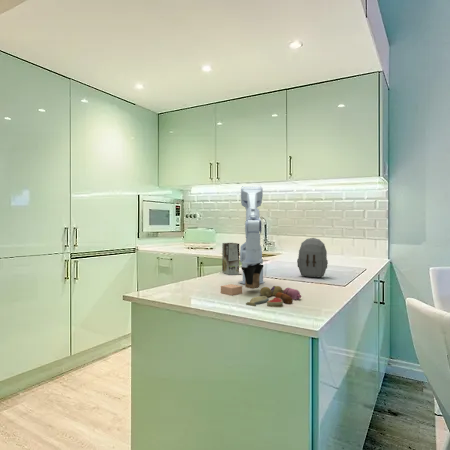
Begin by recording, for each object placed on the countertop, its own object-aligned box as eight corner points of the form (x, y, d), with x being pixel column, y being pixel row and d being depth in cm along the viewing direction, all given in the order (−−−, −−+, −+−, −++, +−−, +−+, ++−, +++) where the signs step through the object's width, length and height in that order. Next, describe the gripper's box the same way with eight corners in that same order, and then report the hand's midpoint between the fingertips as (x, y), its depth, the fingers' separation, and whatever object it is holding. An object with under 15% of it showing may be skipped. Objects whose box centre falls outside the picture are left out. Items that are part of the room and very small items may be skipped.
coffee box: (239, 274, 184) (239, 243, 184) (228, 275, 182) (228, 243, 181) (232, 271, 193) (233, 242, 192) (221, 272, 190) (222, 242, 190)
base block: (231, 291, 143) (231, 284, 143) (242, 293, 139) (242, 286, 139) (220, 293, 139) (220, 286, 139) (231, 296, 135) (231, 288, 135)
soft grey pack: (328, 277, 179) (329, 238, 178) (325, 279, 171) (326, 238, 171) (298, 274, 185) (299, 236, 185) (295, 277, 177) (295, 237, 177)
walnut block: (251, 285, 145) (251, 272, 144) (259, 287, 142) (259, 273, 142) (245, 287, 142) (245, 273, 142) (252, 288, 139) (253, 274, 139)
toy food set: (265, 292, 144) (265, 282, 144) (305, 296, 138) (305, 285, 138) (244, 306, 120) (244, 294, 120) (292, 312, 114) (292, 299, 114)
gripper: (252, 247, 150) (251, 279, 150) (235, 250, 137) (234, 284, 138) (267, 248, 146) (266, 281, 146) (251, 251, 134) (250, 287, 134)
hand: (252, 283), depth 142 cm, fingers closed on walnut block, 5 cm apart
